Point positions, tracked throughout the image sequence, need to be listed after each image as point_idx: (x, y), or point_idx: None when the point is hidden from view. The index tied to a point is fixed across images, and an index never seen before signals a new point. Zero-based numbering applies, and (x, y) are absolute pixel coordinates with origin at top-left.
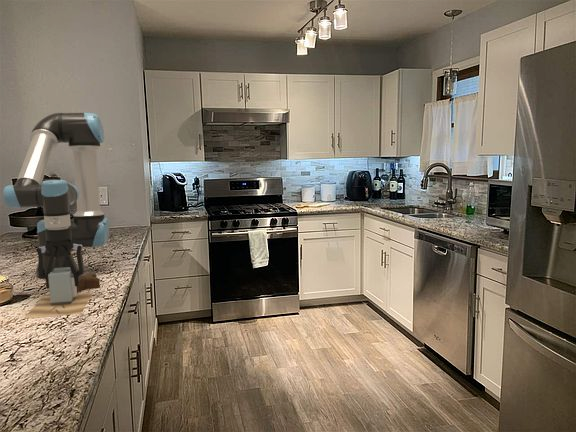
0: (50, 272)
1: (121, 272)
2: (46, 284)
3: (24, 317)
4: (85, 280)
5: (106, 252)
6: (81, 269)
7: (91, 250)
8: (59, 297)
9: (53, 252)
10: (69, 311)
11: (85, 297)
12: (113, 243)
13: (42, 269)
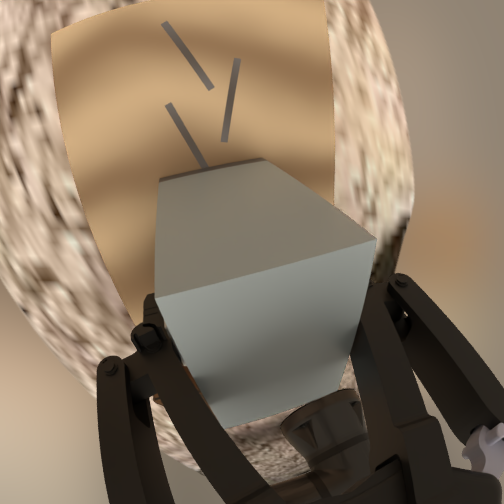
0: (361, 319)
1: (174, 442)
2: None
3: (324, 13)
4: (197, 387)
5: (259, 467)
6: (105, 396)
7: (285, 463)
8: (224, 176)
9: (434, 492)
10: (118, 53)
11: (133, 273)
12: (262, 477)
13: (422, 318)
